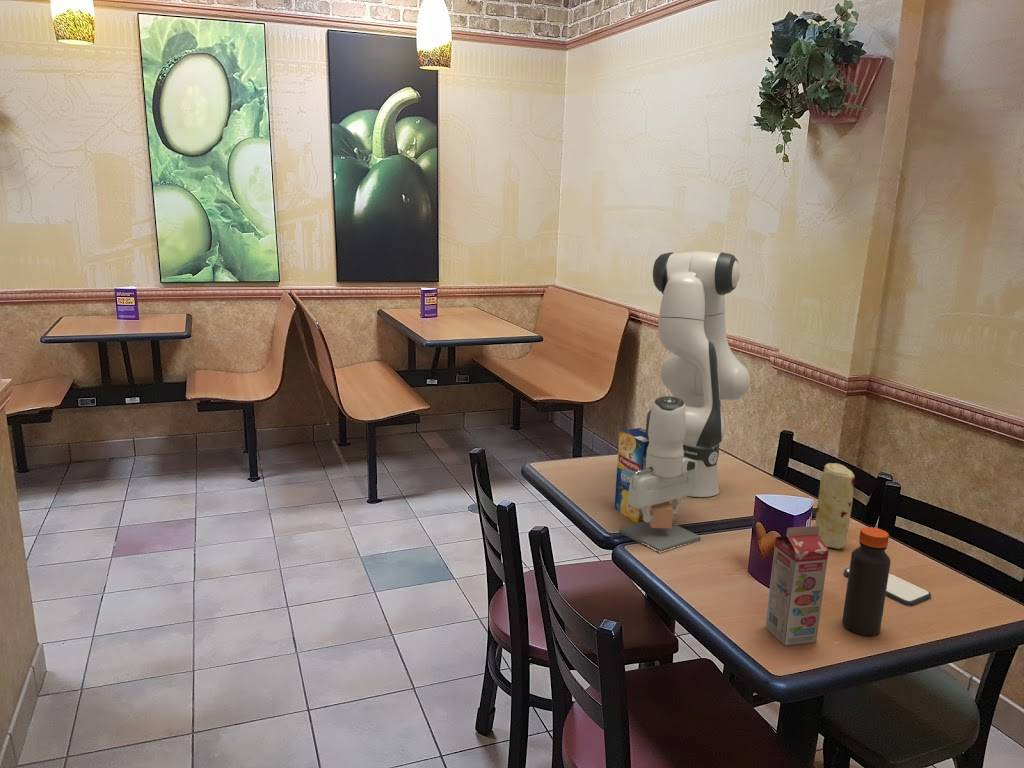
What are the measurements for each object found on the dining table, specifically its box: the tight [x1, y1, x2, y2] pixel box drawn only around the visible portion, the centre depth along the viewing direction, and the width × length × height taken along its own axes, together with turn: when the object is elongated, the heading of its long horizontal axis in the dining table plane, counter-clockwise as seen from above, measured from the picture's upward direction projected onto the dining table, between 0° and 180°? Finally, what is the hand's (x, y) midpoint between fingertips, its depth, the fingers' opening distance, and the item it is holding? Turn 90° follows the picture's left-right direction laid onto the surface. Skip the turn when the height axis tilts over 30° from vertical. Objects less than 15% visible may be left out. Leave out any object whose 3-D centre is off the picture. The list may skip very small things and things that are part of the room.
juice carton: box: [764, 525, 830, 646], centre depth 140 cm, size 7×7×22 cm
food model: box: [814, 462, 856, 550], centre depth 181 cm, size 10×7×20 cm
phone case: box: [843, 567, 932, 607], centre depth 163 cm, size 9×2×16 cm
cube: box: [649, 501, 674, 529], centre depth 183 cm, size 5×5×5 cm
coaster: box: [618, 521, 701, 552], centre depth 185 cm, size 14×14×1 cm
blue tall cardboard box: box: [614, 427, 649, 524], centre depth 195 cm, size 7×11×22 cm, turn 27°
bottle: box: [841, 526, 892, 637], centre depth 144 cm, size 7×7×20 cm
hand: (659, 517), depth 183 cm, fingers closed on cube, 7 cm apart
